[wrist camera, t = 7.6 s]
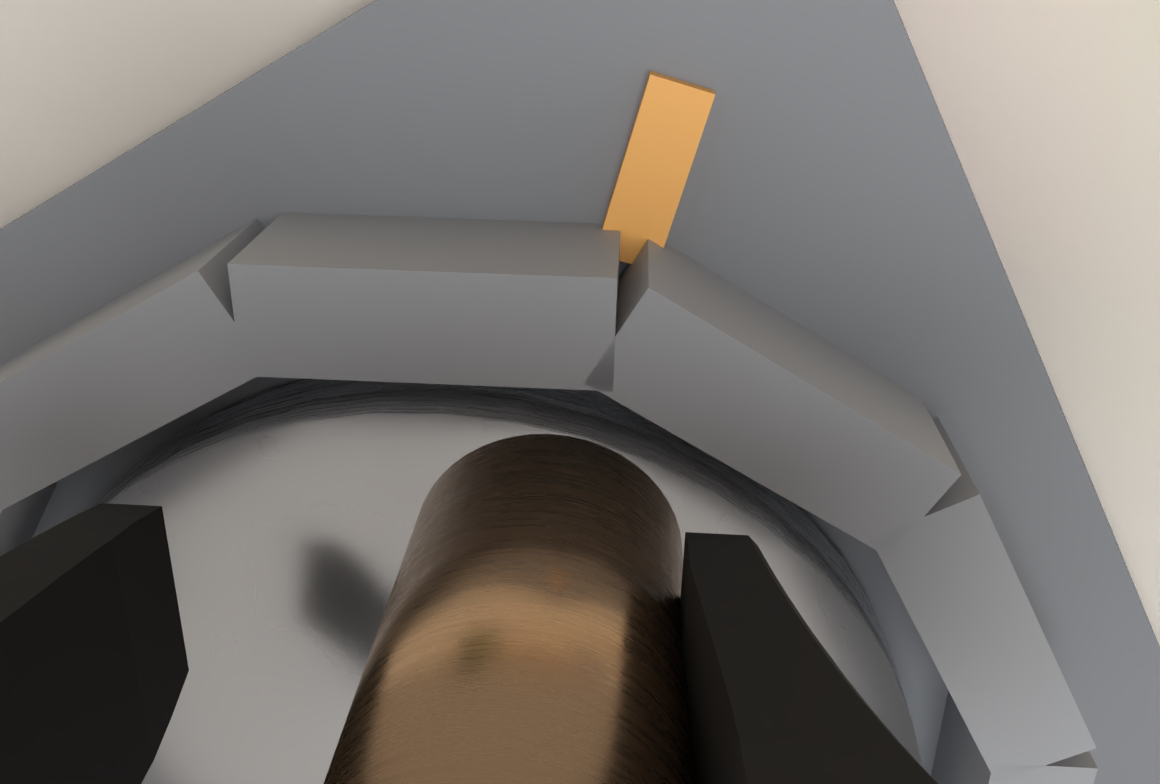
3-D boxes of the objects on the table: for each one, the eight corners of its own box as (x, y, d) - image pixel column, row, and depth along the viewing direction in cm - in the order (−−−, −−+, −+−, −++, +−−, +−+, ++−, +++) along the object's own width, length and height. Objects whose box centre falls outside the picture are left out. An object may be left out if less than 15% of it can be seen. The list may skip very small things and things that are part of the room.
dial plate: (331, 1148, 22) (282, 1345, 19) (-363, 454, 16) (-594, 587, 13) (1239, 876, 18) (1358, 1078, 15) (772, -238, 11) (816, -277, 9)
